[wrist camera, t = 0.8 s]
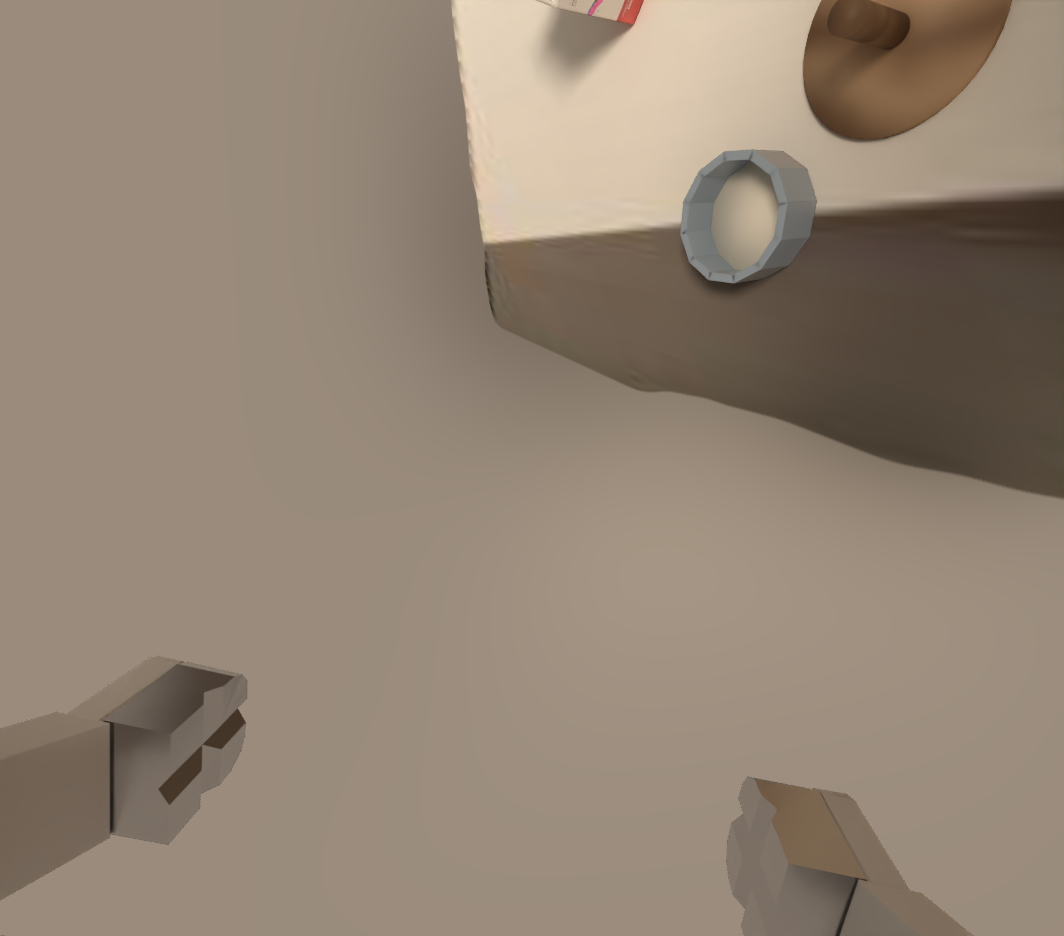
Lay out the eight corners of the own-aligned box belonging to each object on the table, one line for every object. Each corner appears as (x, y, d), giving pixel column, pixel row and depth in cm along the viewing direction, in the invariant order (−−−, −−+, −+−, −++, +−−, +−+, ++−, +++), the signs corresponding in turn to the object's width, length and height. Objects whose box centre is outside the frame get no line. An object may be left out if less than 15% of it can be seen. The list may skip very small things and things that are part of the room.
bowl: (718, 155, 61) (688, 153, 58) (827, 148, 52) (797, 146, 49) (704, 271, 66) (676, 275, 63) (800, 283, 57) (772, 288, 55)
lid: (829, -58, 48) (769, -85, 43) (1052, -132, 37) (1005, -179, 32) (794, 144, 54) (738, 141, 50) (975, 132, 44) (926, 126, 39)
